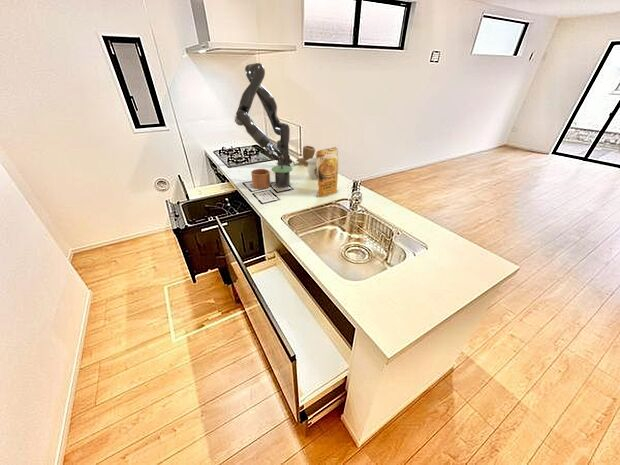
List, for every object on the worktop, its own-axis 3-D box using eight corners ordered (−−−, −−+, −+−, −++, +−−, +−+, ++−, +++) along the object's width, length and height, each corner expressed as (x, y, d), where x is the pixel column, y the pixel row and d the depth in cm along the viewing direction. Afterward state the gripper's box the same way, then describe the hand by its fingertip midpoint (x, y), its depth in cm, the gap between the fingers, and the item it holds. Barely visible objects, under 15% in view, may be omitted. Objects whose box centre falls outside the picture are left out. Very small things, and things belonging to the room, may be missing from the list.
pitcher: (330, 177, 189) (331, 159, 182) (310, 182, 180) (310, 163, 173) (321, 173, 197) (322, 155, 189) (301, 177, 188) (301, 159, 181)
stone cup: (317, 165, 212) (317, 147, 204) (304, 167, 207) (304, 149, 199) (308, 160, 223) (308, 143, 215) (296, 162, 218) (295, 144, 210)
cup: (287, 181, 182) (286, 167, 176) (291, 186, 174) (291, 171, 168) (273, 182, 178) (273, 168, 173) (277, 188, 171) (277, 173, 165)
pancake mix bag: (311, 194, 162) (312, 150, 147) (333, 188, 172) (337, 145, 157) (318, 198, 158) (319, 152, 143) (340, 191, 168) (344, 148, 153)
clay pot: (267, 181, 181) (266, 168, 176) (272, 187, 171) (271, 173, 166) (251, 183, 177) (249, 169, 172) (254, 189, 167) (253, 175, 162)
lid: (288, 166, 178) (288, 151, 173) (295, 172, 168) (295, 157, 162) (269, 168, 174) (268, 153, 168) (274, 175, 163) (274, 159, 158)
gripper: (261, 136, 154) (281, 157, 159) (267, 132, 166) (285, 150, 171) (253, 145, 157) (273, 164, 162) (260, 140, 169) (278, 158, 174)
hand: (279, 157), depth 166 cm, fingers open, 8 cm apart
